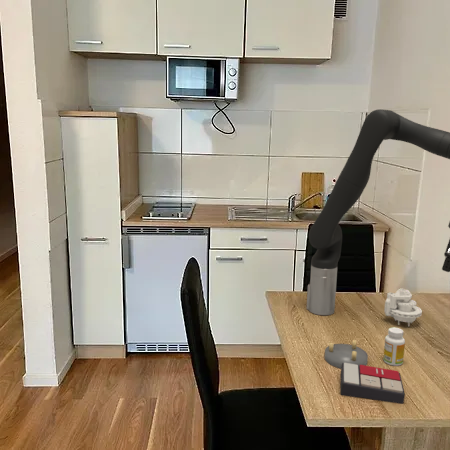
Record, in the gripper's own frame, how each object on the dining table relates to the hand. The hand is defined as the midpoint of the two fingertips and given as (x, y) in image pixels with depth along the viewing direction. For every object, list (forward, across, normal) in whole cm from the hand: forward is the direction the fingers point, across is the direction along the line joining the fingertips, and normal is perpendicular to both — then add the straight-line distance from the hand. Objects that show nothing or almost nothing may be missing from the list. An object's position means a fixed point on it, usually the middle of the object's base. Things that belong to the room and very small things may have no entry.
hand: (449, 269), depth 135 cm
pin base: (+31, +18, -16) cm, 40 cm away
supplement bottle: (+29, +11, -5) cm, 31 cm away
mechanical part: (+27, -19, -12) cm, 35 cm away
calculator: (+31, +29, -4) cm, 43 cm away
